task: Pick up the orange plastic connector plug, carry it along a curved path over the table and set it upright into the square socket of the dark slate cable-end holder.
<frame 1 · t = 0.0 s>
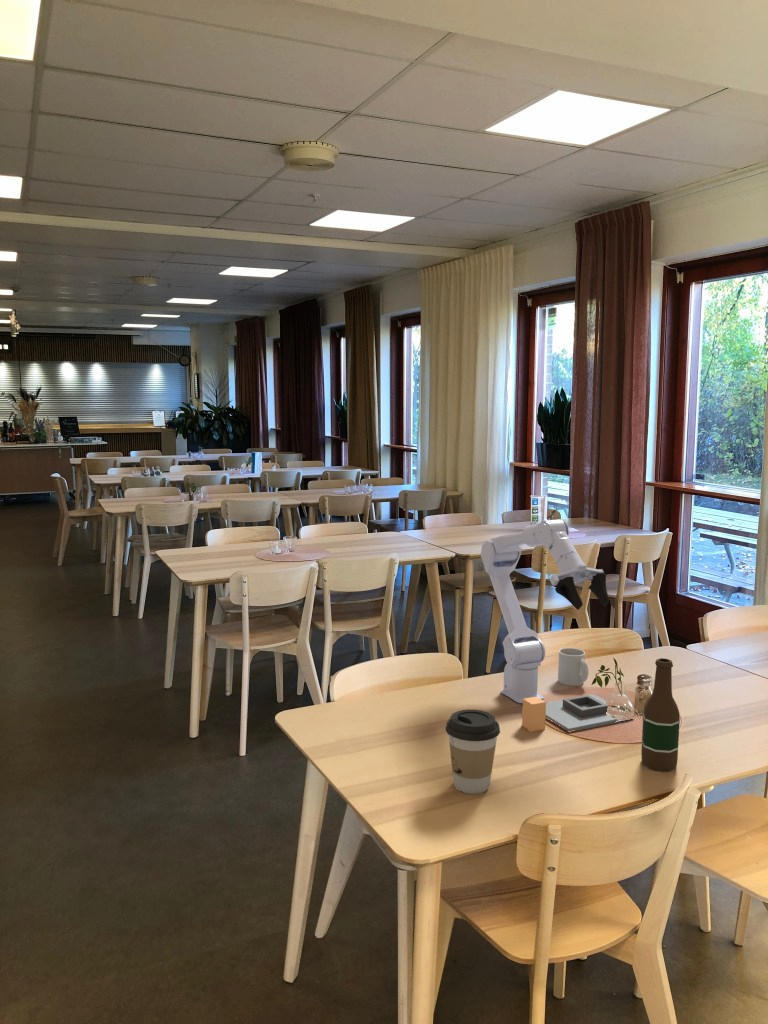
hand: (593, 605, 190), 32 cm above the table, tool tilted 50°, fingers open, 7 cm apart
connector: (533, 727, 200), on the table
end holder: (581, 714, 208), on the table
coffee cup: (471, 786, 170), on the table
cup: (574, 684, 230), on the table
beer bottle: (658, 765, 180), on the table
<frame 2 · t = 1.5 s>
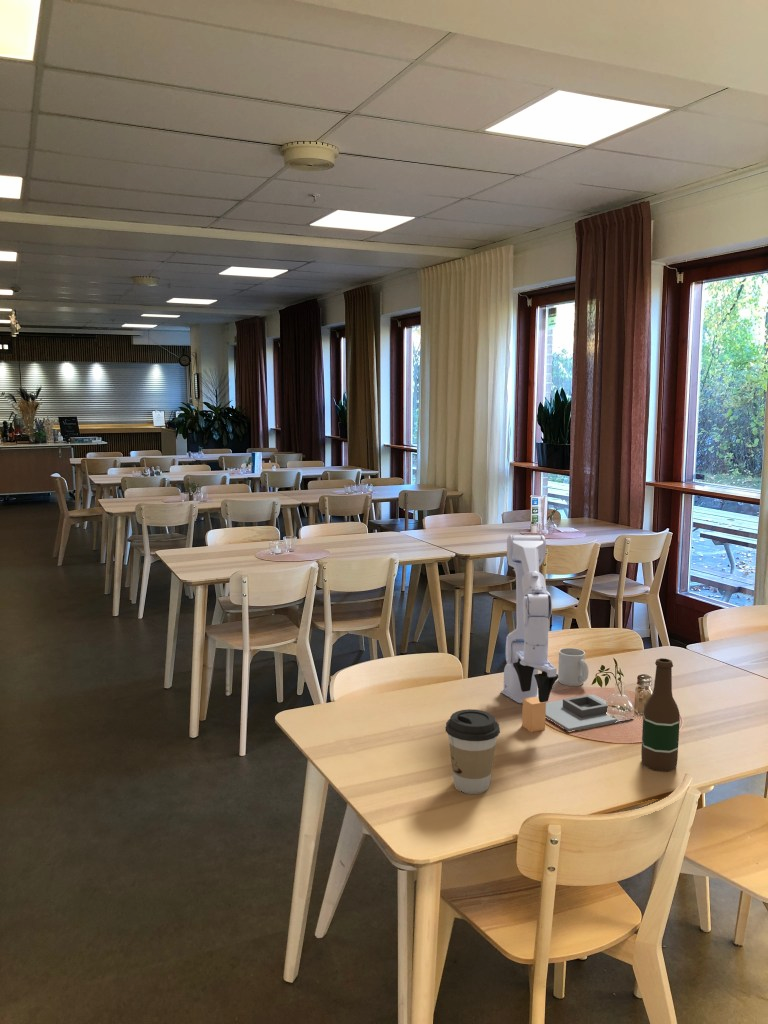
hand: (534, 696, 198), 8 cm above the table, tool pointing down, fingers open, 7 cm apart
nothing on the table moved.
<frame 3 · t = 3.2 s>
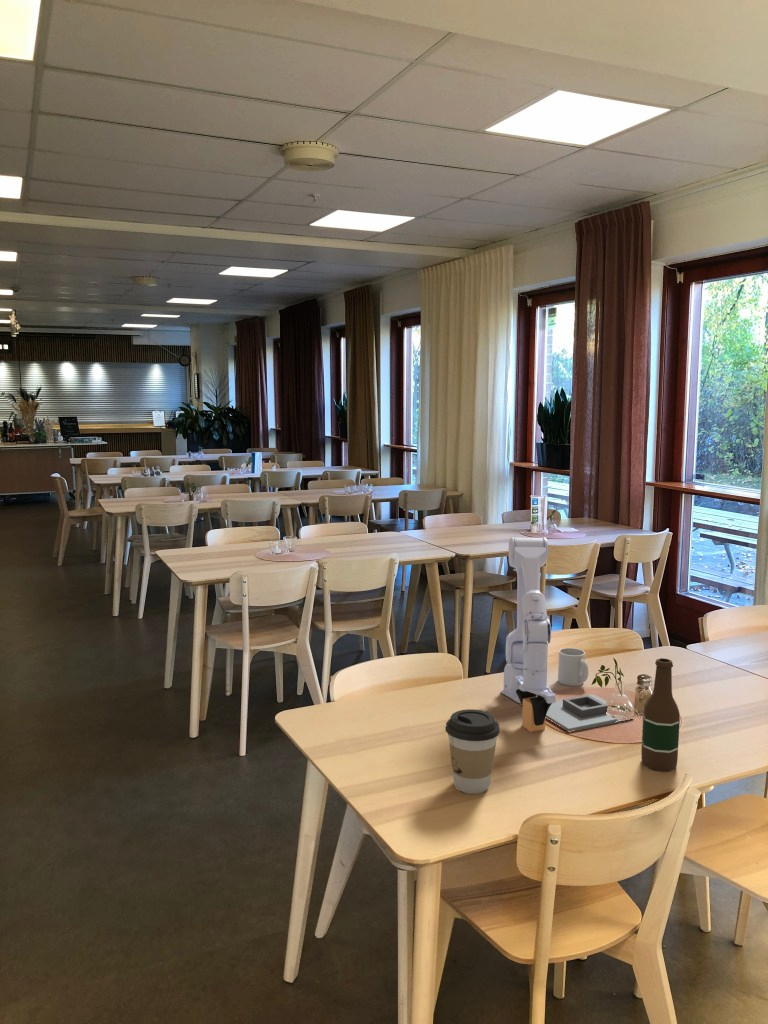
hand: (533, 721, 199), 2 cm above the table, tool pointing down, fingers closed on connector, 4 cm apart
connector: (533, 727, 200), on the table, touching gripper
everything else where it was.
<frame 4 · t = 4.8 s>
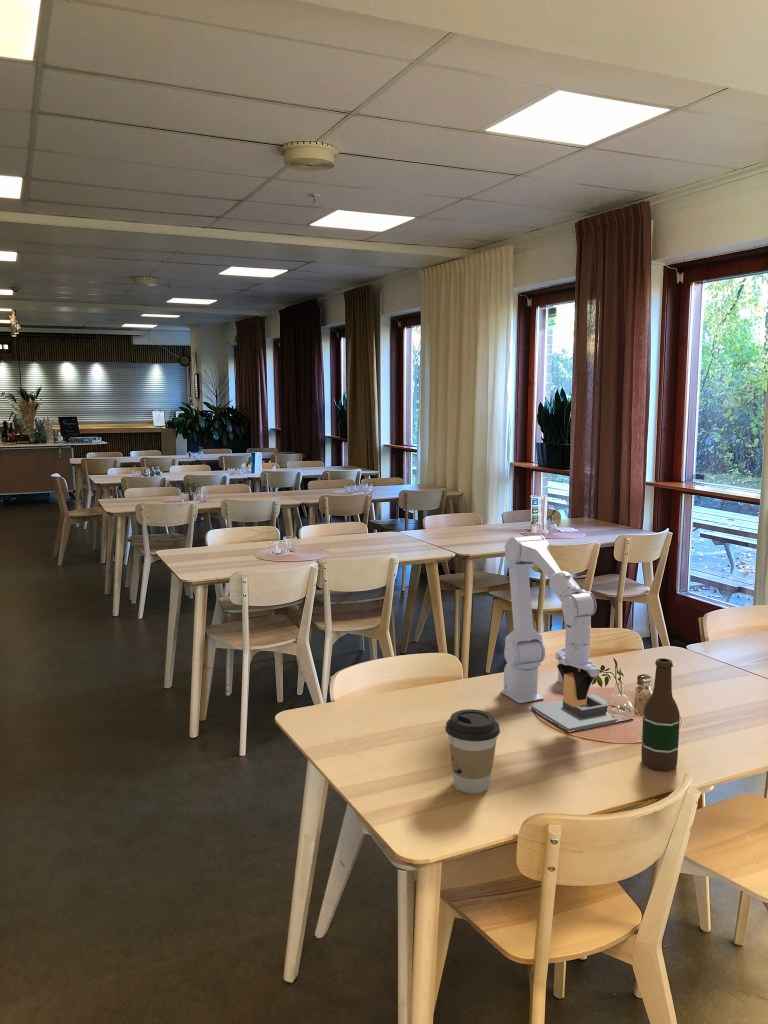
hand: (575, 695, 197), 8 cm above the table, tool pointing down, fingers closed on connector, 4 cm apart
connector: (574, 702, 198), point 7 cm above the table, touching gripper
everything else where it was.
when the fingers open (4 cm above the table, at t = 6.8 s): connector drops 1 cm, resting on end holder.
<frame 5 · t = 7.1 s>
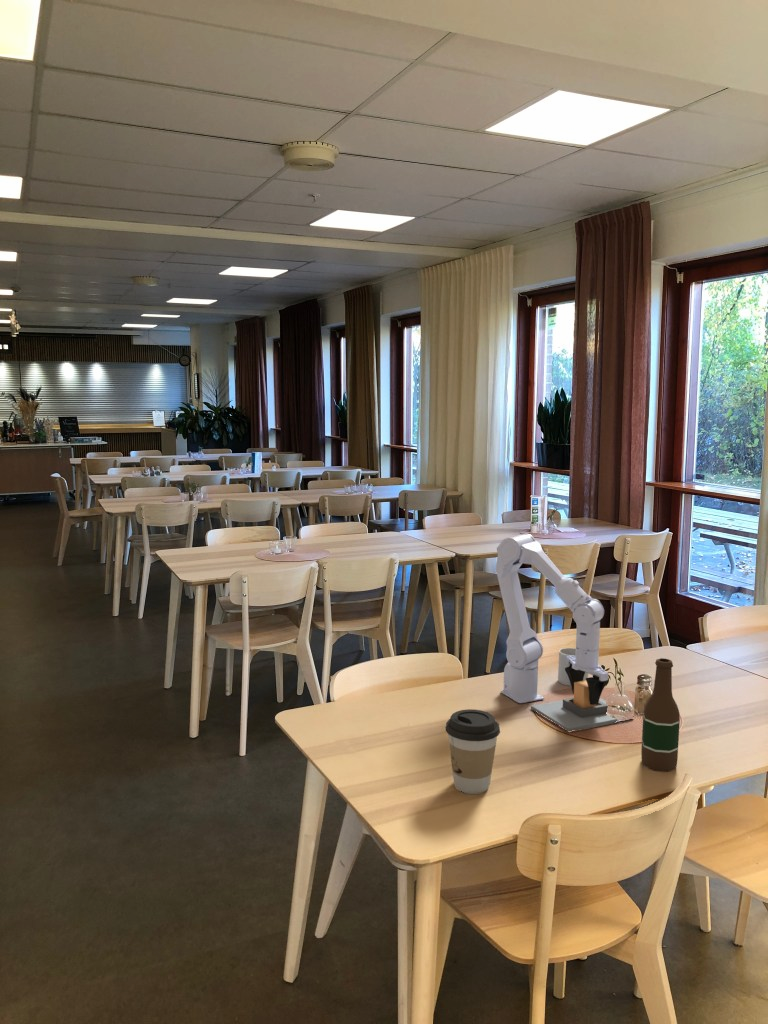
hand: (585, 699, 208), 4 cm above the table, tool pointing down, fingers open, 6 cm apart
connector: (584, 709, 208), point 1 cm above the table, touching end holder
everything else where it was.
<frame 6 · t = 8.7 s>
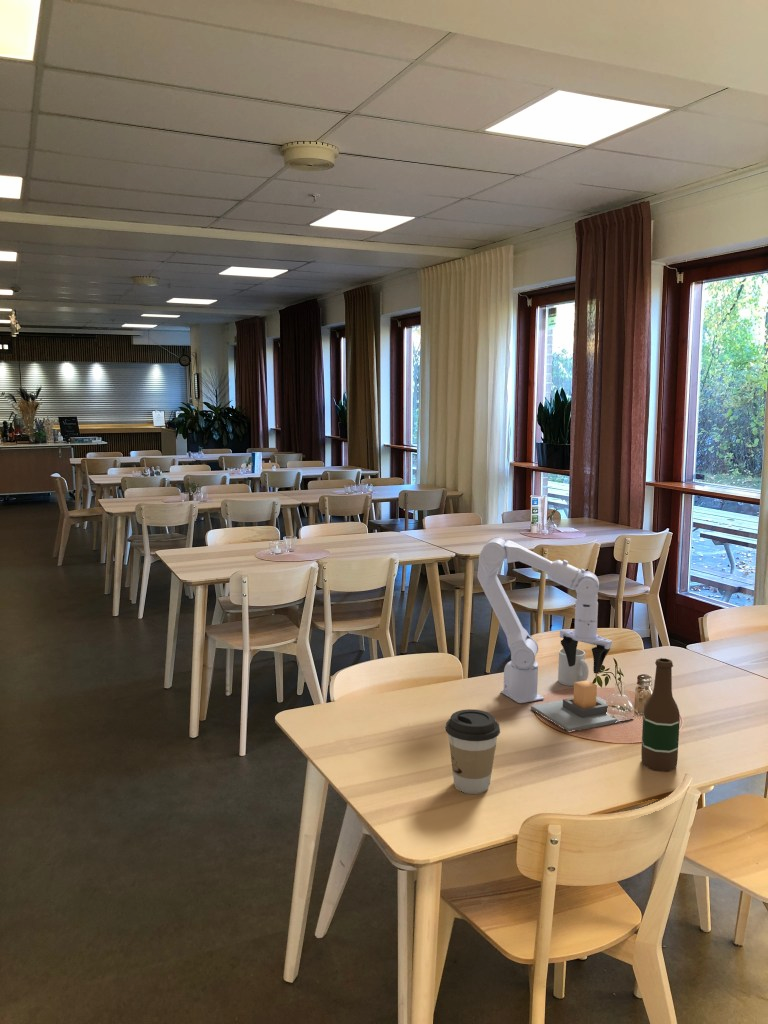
hand: (584, 669, 214), 9 cm above the table, tool pointing down, fingers open, 7 cm apart
nothing on the table moved.
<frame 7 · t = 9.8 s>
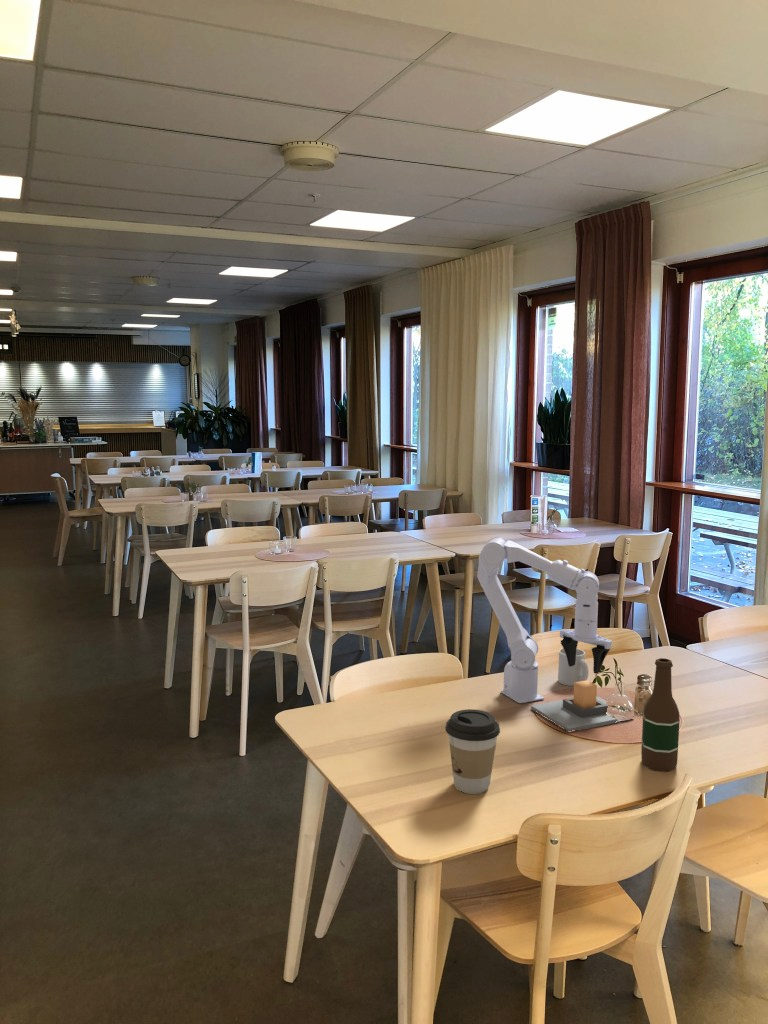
hand: (584, 669, 214), 9 cm above the table, tool pointing down, fingers open, 7 cm apart
nothing on the table moved.
at the end: connector 0.1 cm off-centre on the end holder, point 1.0 cm above the end holder's base; connector tilted 0°; the gripper is holding nothing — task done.
